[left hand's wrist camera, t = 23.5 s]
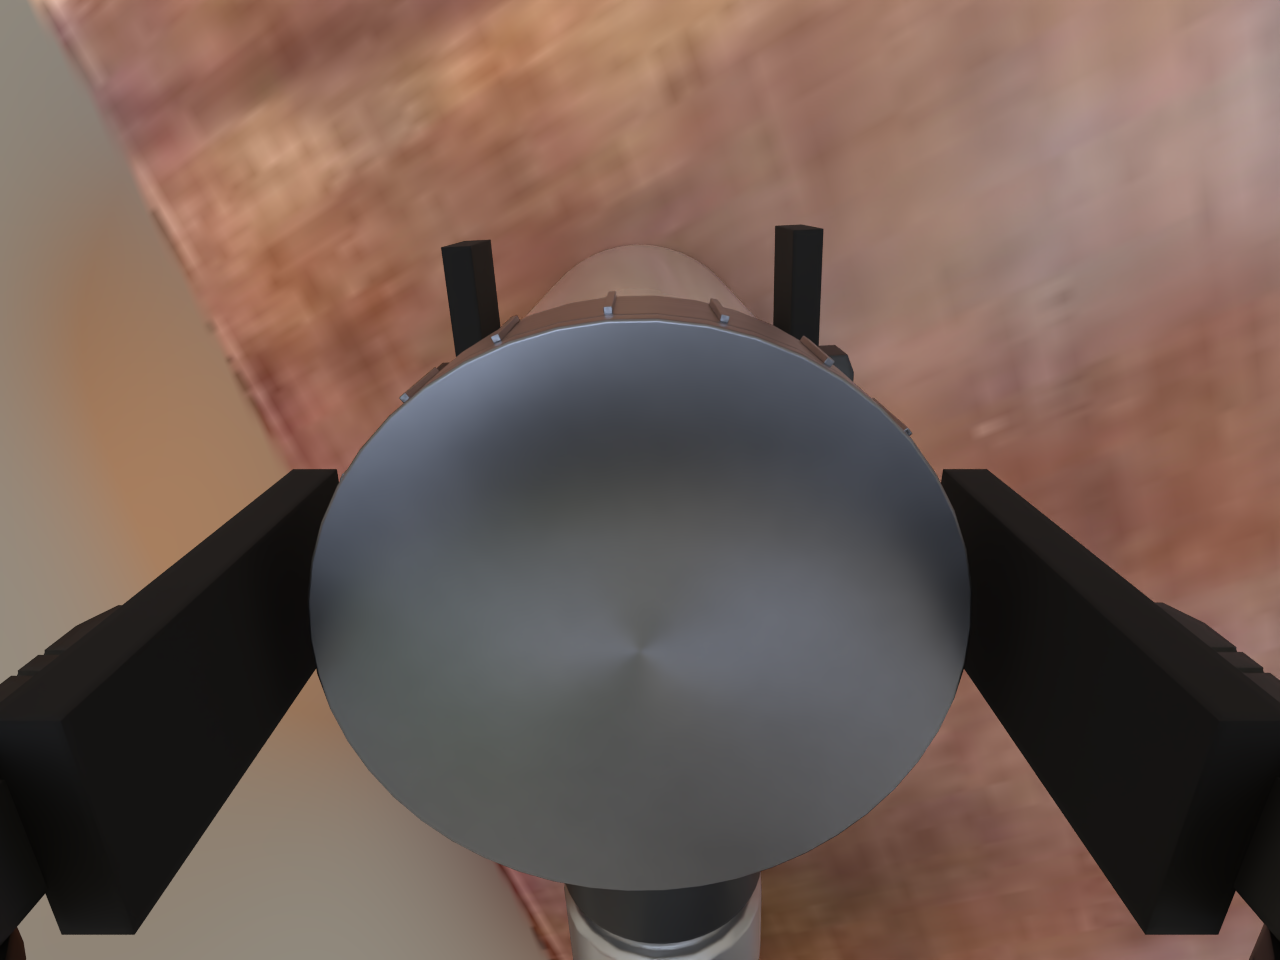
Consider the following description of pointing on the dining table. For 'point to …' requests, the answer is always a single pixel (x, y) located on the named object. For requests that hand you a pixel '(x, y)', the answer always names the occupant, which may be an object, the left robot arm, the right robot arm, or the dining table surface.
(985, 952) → the dining table surface
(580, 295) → the jar
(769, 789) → the lid
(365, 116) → the dining table surface
